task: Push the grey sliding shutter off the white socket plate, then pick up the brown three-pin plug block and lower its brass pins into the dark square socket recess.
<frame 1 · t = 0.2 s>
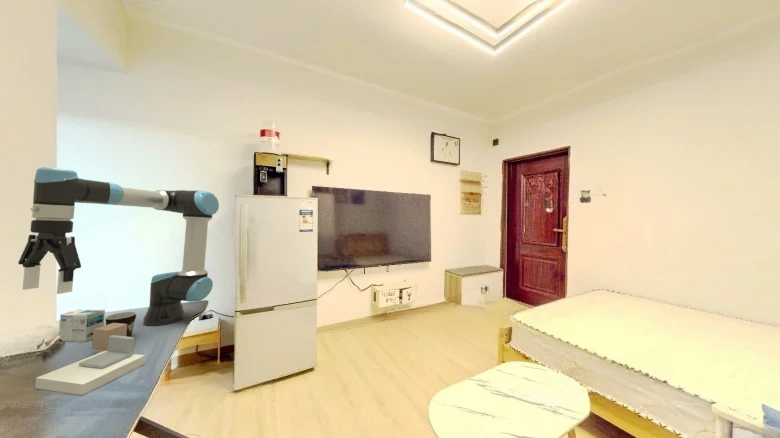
hand: (47, 290, 74), 28 cm above the table, tool pointing down, fingers open, 13 cm apart
plug: (108, 352, 92), on the table
coffee mug: (124, 339, 103), on the table
shutter: (108, 350, 82), point 6 cm above the table, slide at 0.0 cm
light bulb box: (81, 338, 102), on the table
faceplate: (94, 375, 79), on the table
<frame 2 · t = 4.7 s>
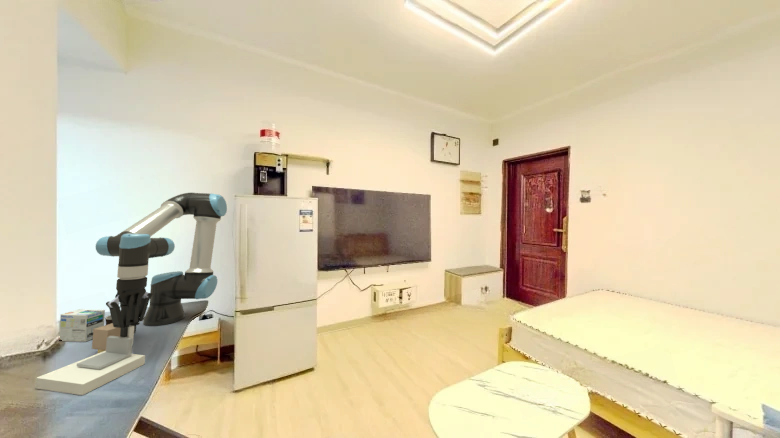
hand: (127, 344, 87), 6 cm above the table, tool pointing down, fingers closed
shutter: (105, 351, 81), point 6 cm above the table, slide at 0.6 cm, touching gripper
everything else where it was.
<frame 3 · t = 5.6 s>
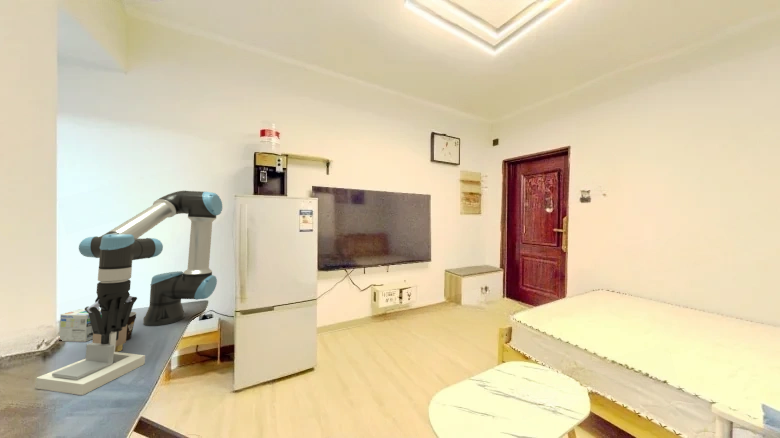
hand: (108, 352, 82), 6 cm above the table, tool pointing down, fingers closed
shutter: (84, 360, 76), point 6 cm above the table, slide at 5.8 cm, touching gripper
everything else where it was.
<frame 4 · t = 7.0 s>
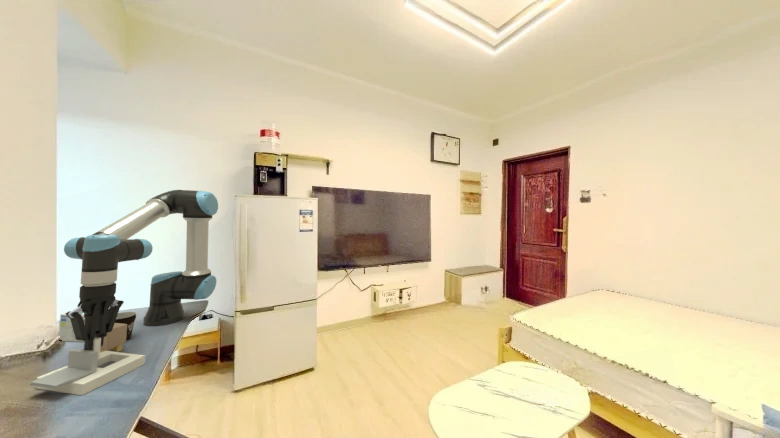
hand: (92, 359, 78), 5 cm above the table, tool pointing down, fingers closed
shutter: (65, 367, 72), point 6 cm above the table, slide at 9.9 cm, touching gripper
everything else where it was.
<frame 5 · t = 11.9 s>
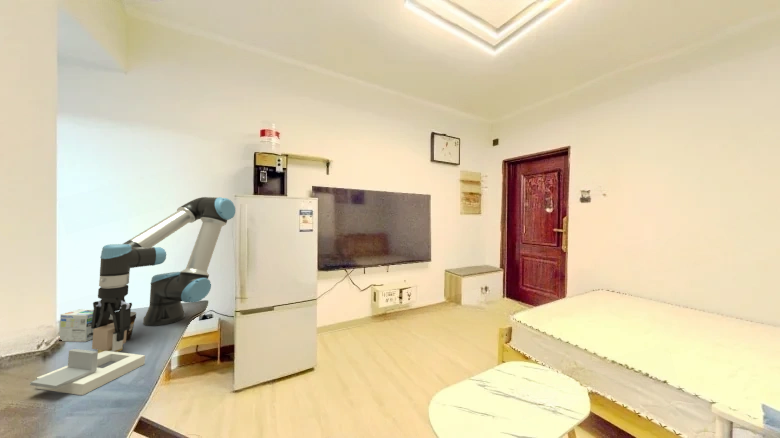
hand: (109, 348, 92), 1 cm above the table, tool pointing down, fingers closed on plug, 6 cm apart
plug: (108, 352, 92), on the table, touching gripper
shutter: (65, 367, 72), point 6 cm above the table, slide at 9.9 cm
everything else where it was.
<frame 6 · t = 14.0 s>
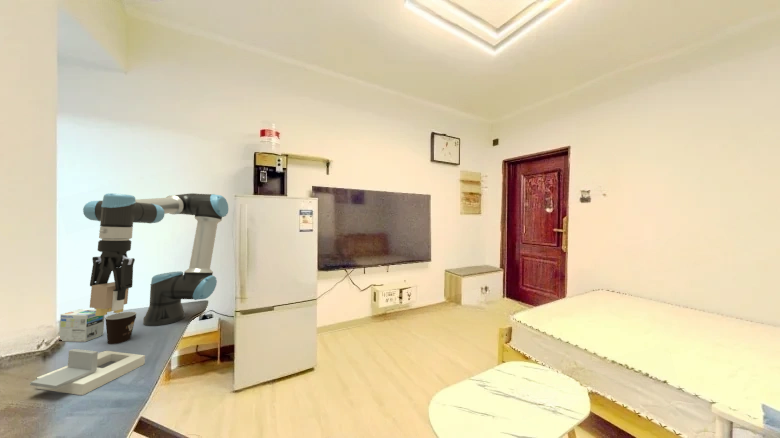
hand: (108, 308, 83), 20 cm above the table, tool pointing down, fingers closed on plug, 6 cm apart
plug: (108, 313, 83), point 18 cm above the table, touching gripper
everything else where it was.
when the fingers open (4 cm above the table, at t = 16.3 s): plug drops 2 cm, resting on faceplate.
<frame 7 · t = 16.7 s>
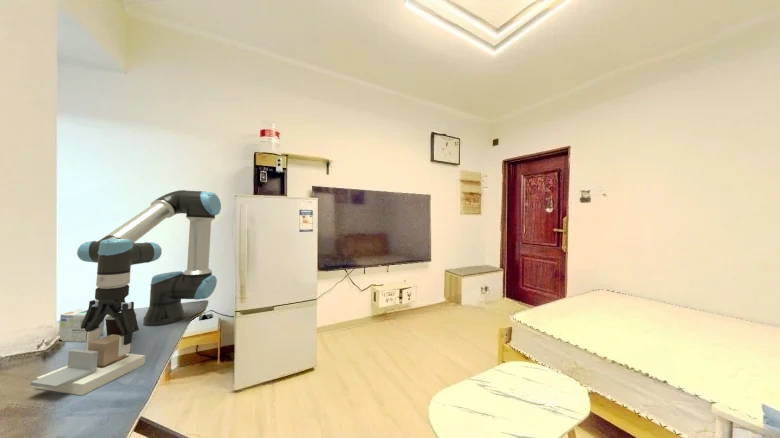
hand: (107, 352, 82), 6 cm above the table, tool pointing down, fingers open, 11 cm apart
plug: (106, 368, 82), resting on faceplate
everything else where it was.
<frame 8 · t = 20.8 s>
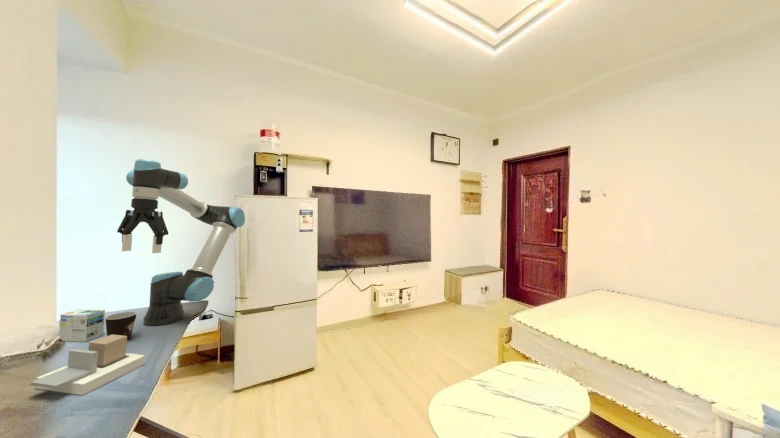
hand: (141, 252, 99), 37 cm above the table, tool pointing down, fingers open, 13 cm apart
nothing on the table moved.
at the end: plug 0.0 cm from the target spot on the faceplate, point 0.5 cm above the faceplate's base; shutter slide at 9.9 cm; plug tilted 0° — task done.
